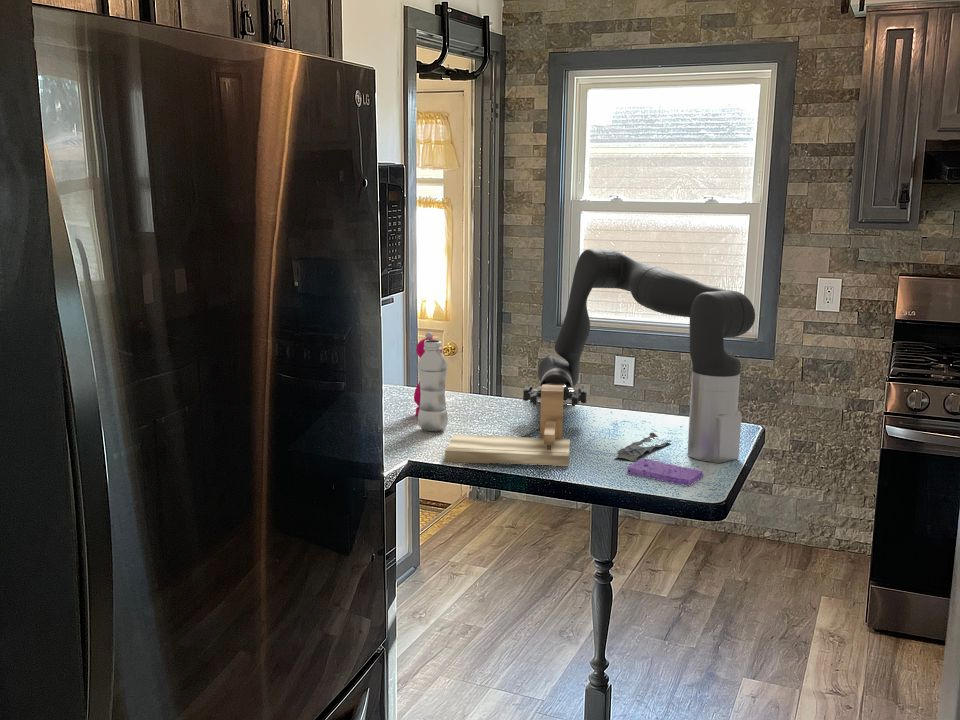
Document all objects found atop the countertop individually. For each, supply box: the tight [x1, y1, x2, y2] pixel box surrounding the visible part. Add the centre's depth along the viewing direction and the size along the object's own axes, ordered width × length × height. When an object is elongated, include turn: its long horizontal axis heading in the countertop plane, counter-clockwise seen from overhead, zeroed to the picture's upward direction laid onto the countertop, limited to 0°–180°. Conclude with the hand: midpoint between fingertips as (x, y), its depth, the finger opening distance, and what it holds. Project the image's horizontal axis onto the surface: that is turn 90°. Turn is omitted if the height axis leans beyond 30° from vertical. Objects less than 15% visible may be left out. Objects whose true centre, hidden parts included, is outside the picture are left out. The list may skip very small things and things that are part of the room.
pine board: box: [444, 434, 571, 467], centre depth 175 cm, size 12×24×2 cm, turn 83°
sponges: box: [626, 457, 704, 486], centre depth 163 cm, size 7×13×2 cm, turn 55°
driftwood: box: [614, 432, 672, 462], centre depth 181 cm, size 21×7×2 cm, turn 142°
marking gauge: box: [539, 385, 564, 450], centre depth 177 cm, size 18×4×12 cm, turn 173°
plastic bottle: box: [417, 339, 449, 432], centre depth 191 cm, size 6×7×20 cm
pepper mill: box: [413, 331, 443, 418], centre depth 204 cm, size 7×7×20 cm
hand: (553, 401), depth 192 cm, fingers open, 8 cm apart
